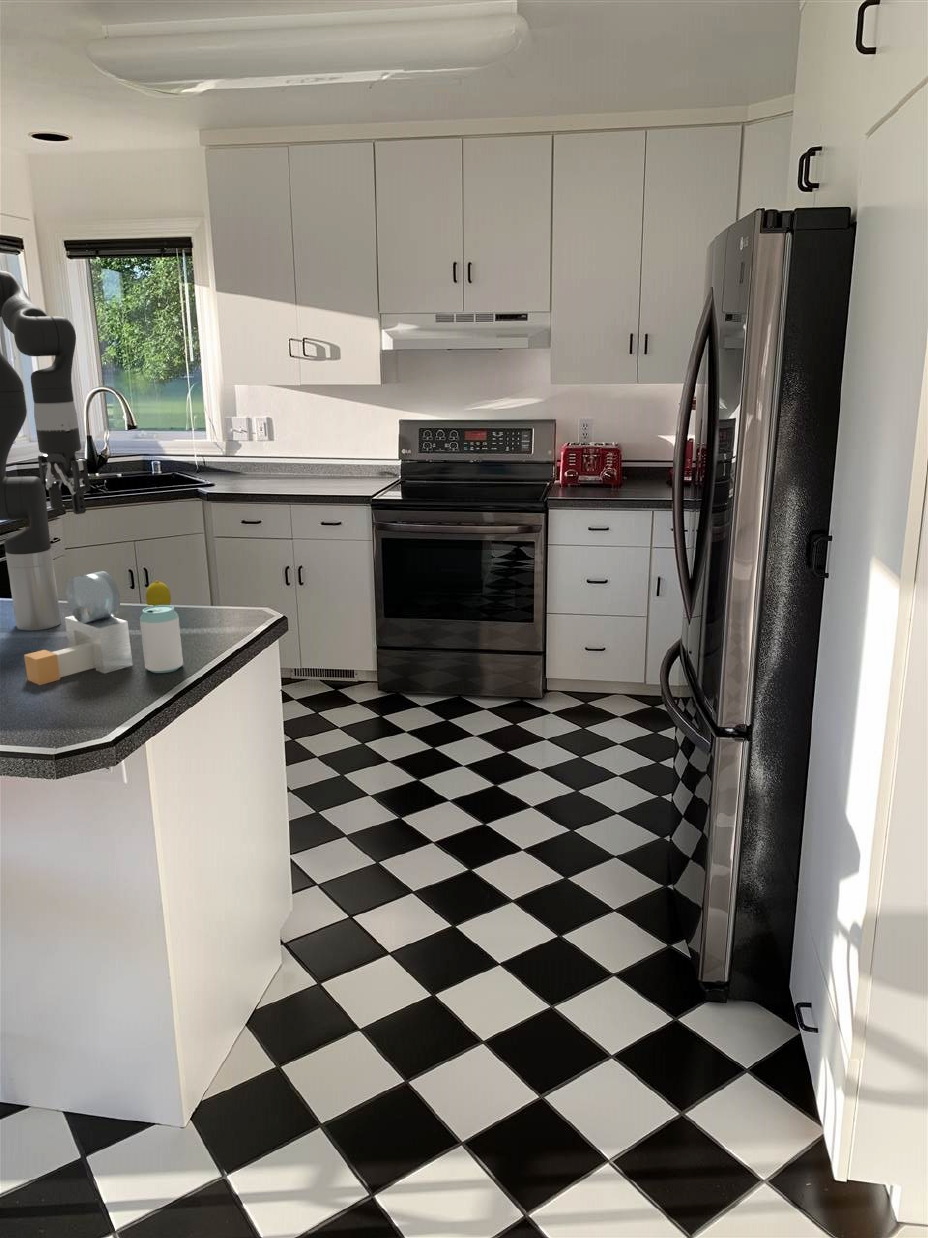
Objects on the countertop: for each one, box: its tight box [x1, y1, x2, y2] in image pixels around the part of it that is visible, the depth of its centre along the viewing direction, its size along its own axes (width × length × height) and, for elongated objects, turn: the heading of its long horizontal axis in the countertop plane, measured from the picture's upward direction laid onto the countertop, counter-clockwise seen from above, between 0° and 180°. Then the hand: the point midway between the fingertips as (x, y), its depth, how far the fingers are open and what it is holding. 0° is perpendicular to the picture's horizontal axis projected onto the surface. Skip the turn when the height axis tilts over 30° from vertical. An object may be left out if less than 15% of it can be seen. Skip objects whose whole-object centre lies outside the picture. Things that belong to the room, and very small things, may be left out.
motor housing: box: [64, 570, 133, 674], centre depth 188 cm, size 12×6×18 cm, turn 50°
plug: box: [23, 642, 96, 686], centre depth 187 cm, size 4×20×5 cm, turn 140°
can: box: [139, 605, 184, 674], centre depth 185 cm, size 7×7×12 cm
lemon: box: [145, 580, 172, 607], centre depth 224 cm, size 6×6×8 cm
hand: (68, 510), depth 188 cm, fingers open, 8 cm apart
